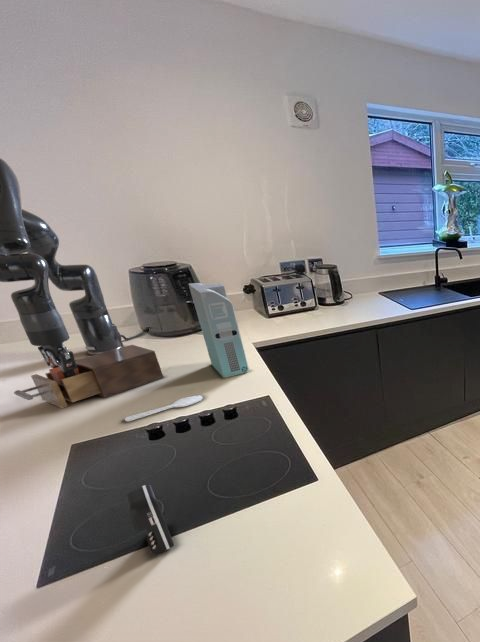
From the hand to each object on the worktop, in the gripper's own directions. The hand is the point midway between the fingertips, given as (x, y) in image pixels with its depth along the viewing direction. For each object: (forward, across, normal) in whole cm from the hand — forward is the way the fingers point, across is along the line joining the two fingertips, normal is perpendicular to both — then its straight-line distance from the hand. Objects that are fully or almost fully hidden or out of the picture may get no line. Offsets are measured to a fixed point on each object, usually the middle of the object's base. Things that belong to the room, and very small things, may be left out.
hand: (68, 380), depth 118 cm
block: (0, 0, 0) cm, 0 cm away
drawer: (+5, 0, 0) cm, 5 cm away
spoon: (+6, -30, -8) cm, 32 cm away
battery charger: (+6, -82, +21) cm, 85 cm away
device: (+6, -18, -34) cm, 40 cm away
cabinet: (+6, 0, -12) cm, 13 cm away
